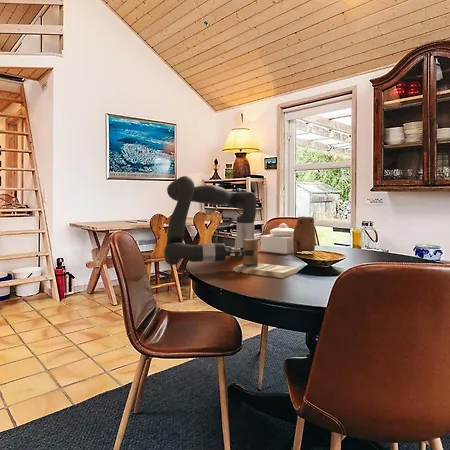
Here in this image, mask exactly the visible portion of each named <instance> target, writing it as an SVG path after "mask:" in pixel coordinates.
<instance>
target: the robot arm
mask: <svg viewBox="0 0 450 450" xmlns="http://www.w3.org/2000/svg"><path fill="white" fill-rule="evenodd" d="M166 192H167V195H168V197H170V198H171V199H172V200H173V201H176V204H175V207H174V210H172V211H173V212H172V213H171V215H170V218H169V221H168V224H167V225H168V227H167V233H166V240H167V241H166V243H165V244H166V245H165V247H164V249H163V250H164V252H163V257H164V261H165V262H166V263H167V264H168V265H170V266H175V265H177V264H178V263H180V261H181V260H188V261H189V262H192V263H200V262H203V263H215V262H219V263H220V262H225V261H226V257H229V258H230V259H233V258H243V257H245V256H253V255H254V250H243V239H255V219H256V216H257V212H256V211H257V198H256V197H257V196H256V194H255V193H254V192H252V191H229V190H227V189H225V188H224V187H222V186H217V185H211V184H210V185H209V184H208V185H206V184H205V185H198V186H195V183H194V180H193V179H192V178H191V177H189V176H187V175H183V176H180V177H178V178H176V179H175V180H172V182H170V183H169V185H168V186H167V188H166ZM194 202H195V203H199V204H200V203H201V204H205V205H212V206H221V207H222V206H227V207H231V208H233V209H234V208H235V209H237V210H242V214H241V215H239V216H237V217H236V236H235V237H234V246H226V245H225V243H220V242H218V243H204V244H201V243H200V244H189V243H183V241H184V237H185V231H186V223H187V219H188V214H189V210H190V206H191V204H192V203H194Z"/></svg>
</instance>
